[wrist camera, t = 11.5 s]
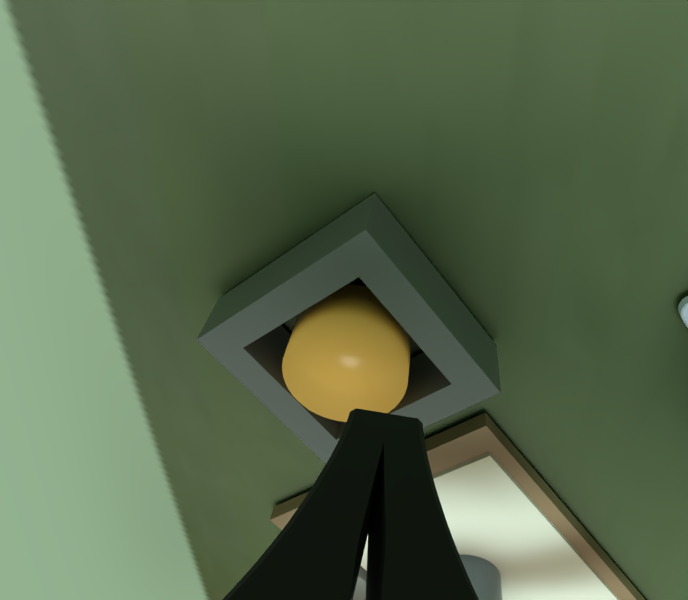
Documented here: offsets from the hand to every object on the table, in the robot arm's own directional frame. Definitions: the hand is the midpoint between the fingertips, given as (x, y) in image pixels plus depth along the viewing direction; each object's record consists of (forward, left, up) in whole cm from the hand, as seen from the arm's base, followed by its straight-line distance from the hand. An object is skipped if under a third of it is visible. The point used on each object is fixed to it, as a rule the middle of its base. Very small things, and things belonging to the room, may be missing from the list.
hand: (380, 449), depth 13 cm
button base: (-2, +4, -9) cm, 10 cm away
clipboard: (-15, +8, -9) cm, 19 cm away
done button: (-2, +4, -9) cm, 9 cm away
